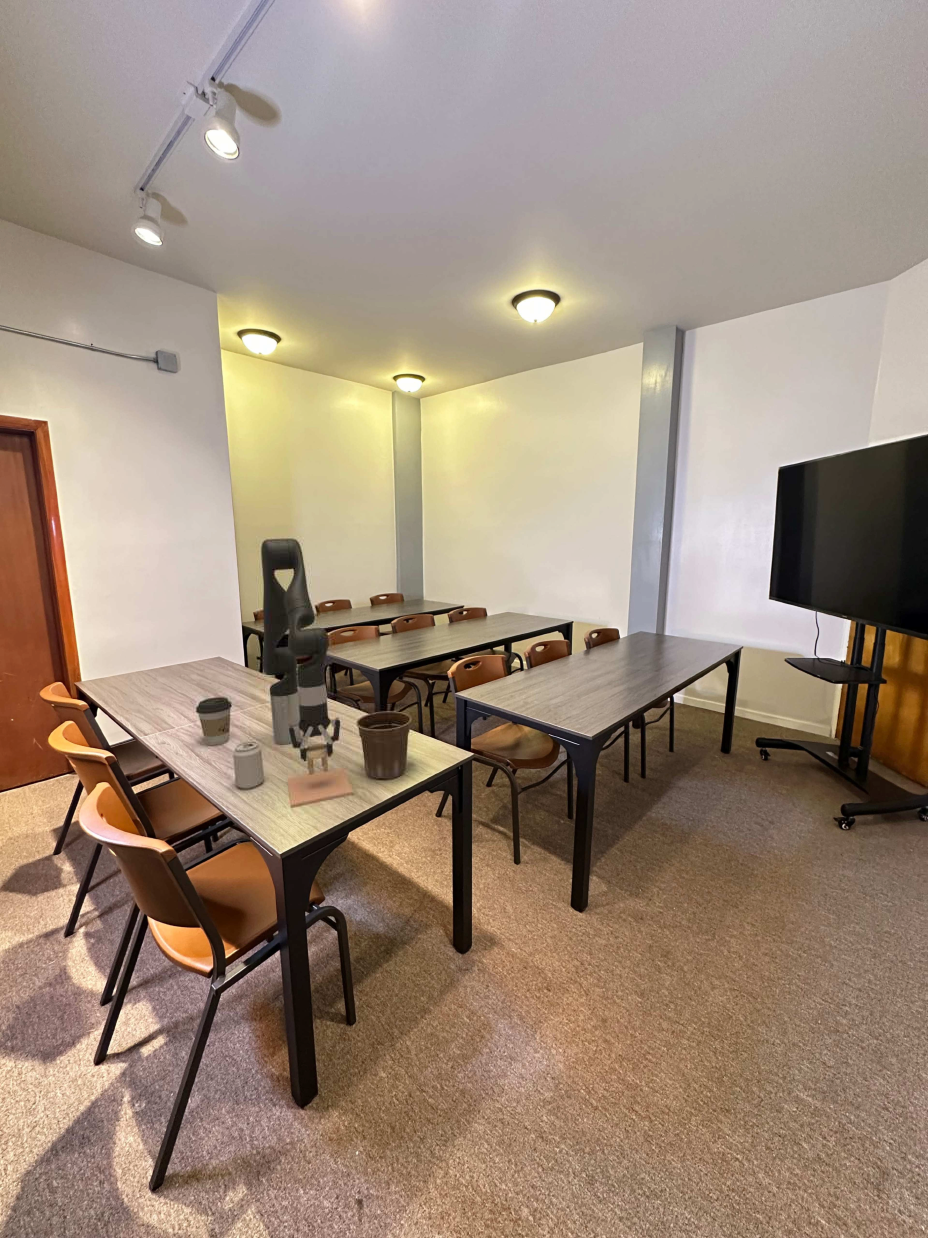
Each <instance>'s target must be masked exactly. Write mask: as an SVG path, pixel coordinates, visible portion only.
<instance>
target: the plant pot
mask: <svg viewBox="0 0 928 1238" xmlns="http://www.w3.org/2000/svg"><path fill="white" fill-rule="evenodd" d="M412 720H413V719H412V716H411V715H409V714H408V713H405V712H400V711H393V710H392V711H391V710H389V711H387V710H385V711H379V712H378V711H377V712H372V713H368V714H365V715H363V716H361V717H359V718H358V719H357V720H356V727H357V728H358V734H359V737H360V740H361V746H362V753H363V762H364V768H365V774H366V775H367V776H368V777H370V779H375V780H380V779H384V780H391V779H394V778H397V777H399V776H402V775H403V774H404V773H405V772H406V770H407V757H408V743H409V733H410V726H411V723H412Z"/></svg>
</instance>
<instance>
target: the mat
mask: <svg viewBox="0 0 928 1238" xmlns="http://www.w3.org/2000/svg"><path fill="white" fill-rule="evenodd" d="M287 786H288V792H289V801H290V808H297V807H300V806H305V805H309V804H315V803H319V802H324V801H328V800H332V799H333V800H334V799H338V798H343V797H348V796H351V795H353V794H354V791H353V789H352V786H351V784H350V782H349V779H348V777H347V773H346V772H345V768H344V767H340V768H334V769H328V771H327V772H324V771H320V772H314V774H309V773H308V774H305V775H299V776H295V777H294V776H293V777H287Z"/></svg>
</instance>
